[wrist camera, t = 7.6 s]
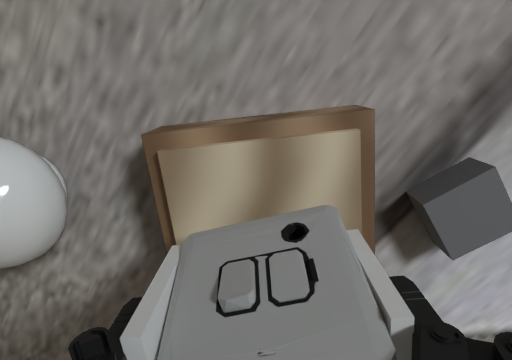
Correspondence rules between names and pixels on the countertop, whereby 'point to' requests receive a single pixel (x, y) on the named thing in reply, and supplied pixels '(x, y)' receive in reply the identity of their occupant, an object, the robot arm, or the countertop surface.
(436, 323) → the robot arm
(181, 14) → the countertop surface
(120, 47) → the countertop surface
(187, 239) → the electrical switch
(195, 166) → the wooden box
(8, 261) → the flower vase
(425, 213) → the rubber block
